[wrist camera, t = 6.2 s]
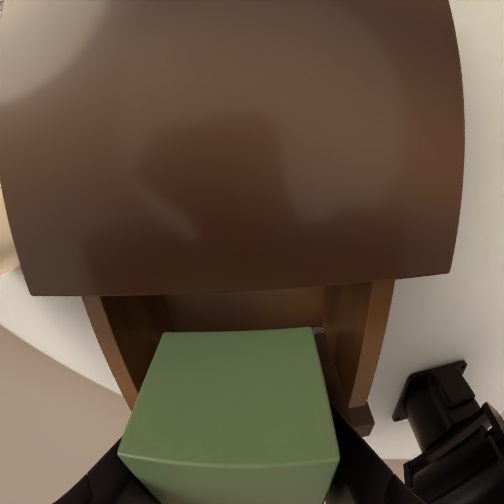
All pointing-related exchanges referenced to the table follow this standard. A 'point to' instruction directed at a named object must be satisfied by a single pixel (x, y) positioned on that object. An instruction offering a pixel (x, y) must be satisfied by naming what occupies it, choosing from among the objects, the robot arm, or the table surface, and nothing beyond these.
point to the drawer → (255, 318)
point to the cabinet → (229, 143)
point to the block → (233, 420)
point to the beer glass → (6, 242)
